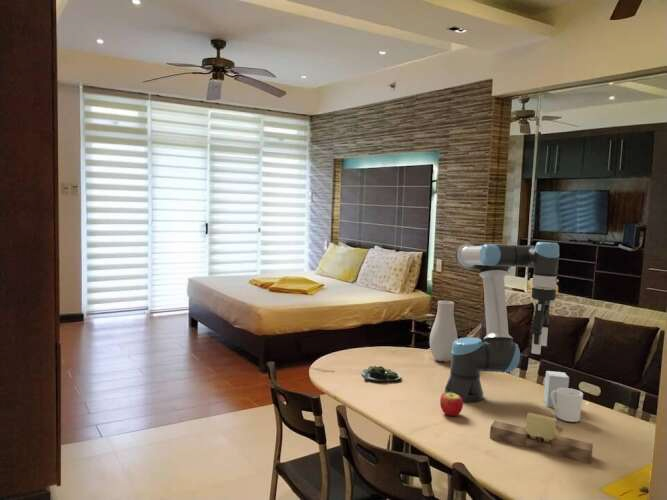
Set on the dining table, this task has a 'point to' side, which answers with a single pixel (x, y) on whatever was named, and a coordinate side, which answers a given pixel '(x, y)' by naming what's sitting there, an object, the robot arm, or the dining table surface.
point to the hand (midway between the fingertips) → (539, 349)
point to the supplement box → (554, 385)
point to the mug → (568, 404)
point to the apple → (451, 403)
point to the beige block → (541, 427)
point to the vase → (443, 332)
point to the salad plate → (380, 375)
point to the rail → (542, 442)
